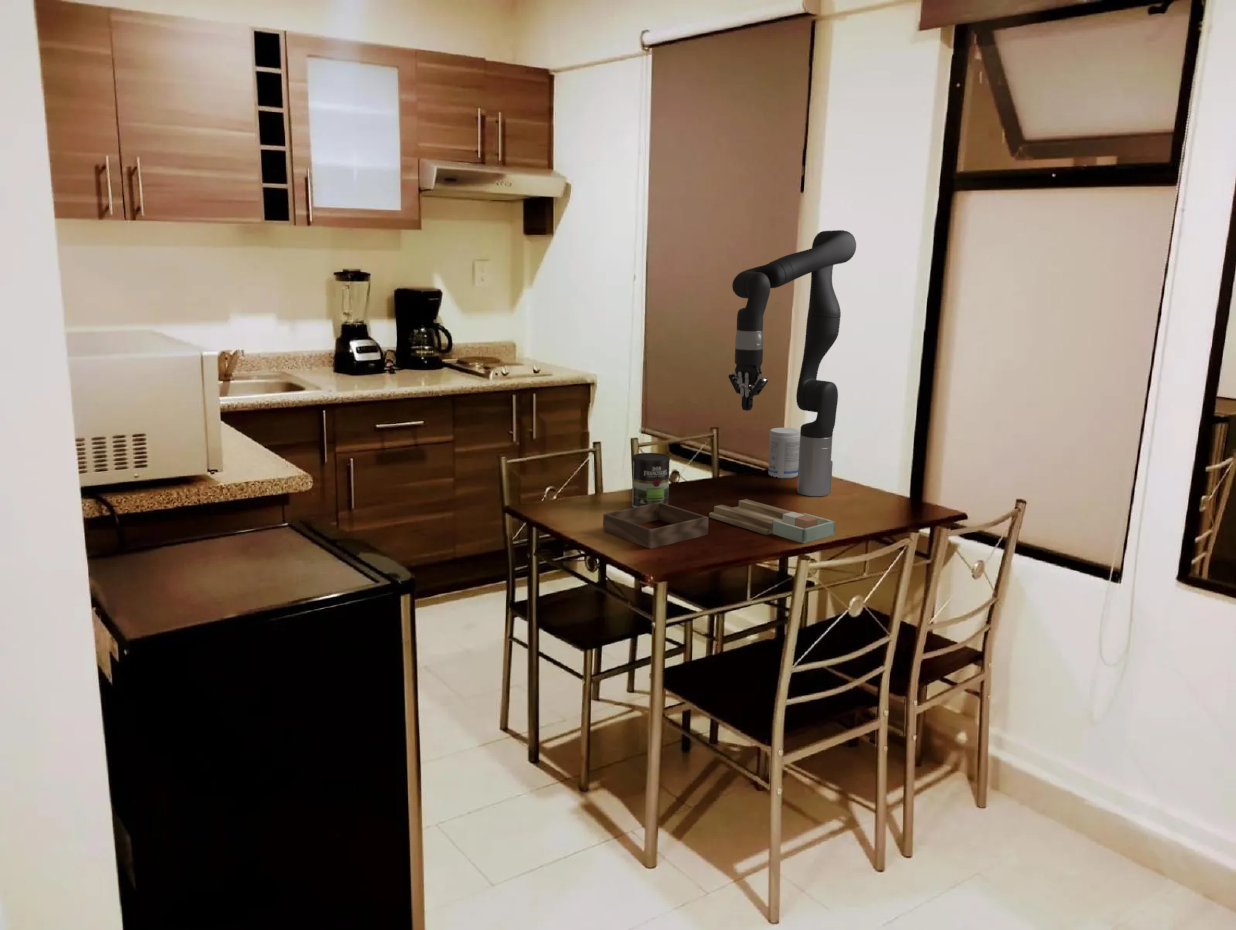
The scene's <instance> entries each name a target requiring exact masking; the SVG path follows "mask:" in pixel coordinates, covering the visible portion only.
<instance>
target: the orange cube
mask: <svg viewBox="0 0 1236 930" xmlns="http://www.w3.org/2000/svg"><path fill="white" fill-rule="evenodd" d="M816 525H818V518H814V517H811V516H807V515H804V516H800V517H796V518H795V526H797V527H800V528H803V529H805V528H809V527H813V526H816Z"/></svg>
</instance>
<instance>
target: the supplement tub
mask: <svg viewBox="0 0 1236 930" xmlns="http://www.w3.org/2000/svg"><path fill="white" fill-rule="evenodd" d="M800 430H801V429H797V428H793V427H775V428H774V427H773V428H771V429H770V430H769V441H768V442H769V444H768V469H767V470H768V475H769V476H770V477H772V476H773V478H776V477H777V479H794V478H798V465H799V448H800Z"/></svg>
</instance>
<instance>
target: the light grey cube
mask: <svg viewBox="0 0 1236 930" xmlns="http://www.w3.org/2000/svg"><path fill="white" fill-rule="evenodd" d="M800 516H804V515H803V513H800V512H795V511H791V512H790V513H786V514H783V519H782V522H783V523H786V524H790V525H793V526H795V518H796V517H800Z"/></svg>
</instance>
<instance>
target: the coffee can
mask: <svg viewBox="0 0 1236 930" xmlns="http://www.w3.org/2000/svg"><path fill="white" fill-rule="evenodd" d="M631 458H632V487H631V488H632V489H631V490H632V491H631V492H632V493H631V495H632V496H631V497H632V498H631V508H634V507H639V506H644V505H648V504H653V503H658V502H661V503H664V504H668V505H669V491H670V489H669V488H670V487H669V486H670V461H671V456H670V455H668V454H664V453H660V452H659V453H658V452H640V453H635V454H633V455H632V457H631Z"/></svg>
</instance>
